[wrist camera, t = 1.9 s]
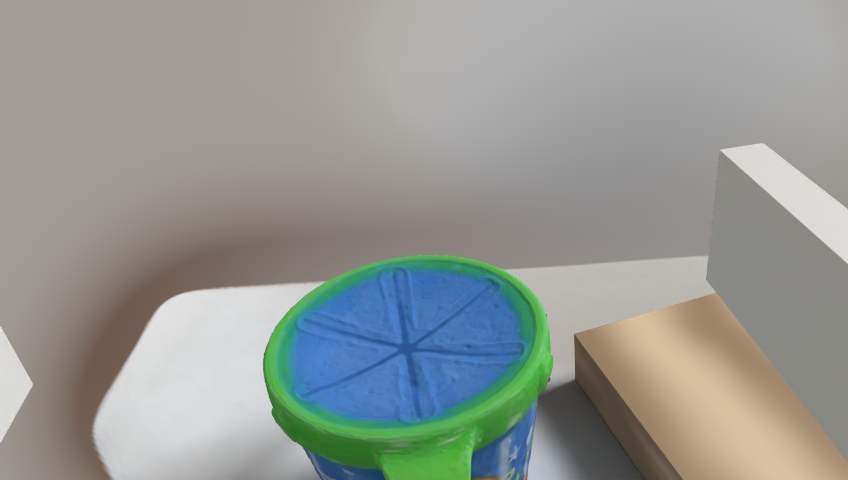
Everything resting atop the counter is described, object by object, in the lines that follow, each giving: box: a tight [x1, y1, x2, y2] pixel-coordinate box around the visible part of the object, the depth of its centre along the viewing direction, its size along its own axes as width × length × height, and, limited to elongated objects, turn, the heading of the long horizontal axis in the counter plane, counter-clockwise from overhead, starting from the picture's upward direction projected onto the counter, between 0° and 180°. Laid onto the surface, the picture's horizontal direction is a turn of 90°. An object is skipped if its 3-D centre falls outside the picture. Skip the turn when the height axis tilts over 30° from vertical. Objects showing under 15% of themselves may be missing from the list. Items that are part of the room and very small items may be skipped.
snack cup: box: [263, 255, 553, 480], centre depth 28 cm, size 16×10×10 cm
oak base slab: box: [574, 293, 848, 480], centre depth 31 cm, size 14×14×3 cm
